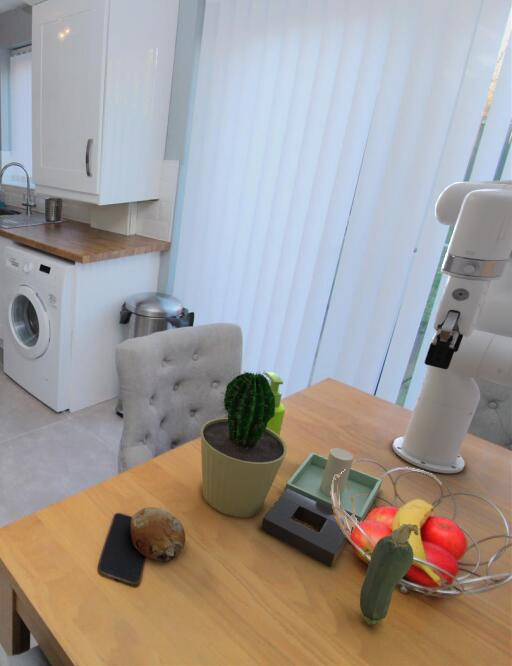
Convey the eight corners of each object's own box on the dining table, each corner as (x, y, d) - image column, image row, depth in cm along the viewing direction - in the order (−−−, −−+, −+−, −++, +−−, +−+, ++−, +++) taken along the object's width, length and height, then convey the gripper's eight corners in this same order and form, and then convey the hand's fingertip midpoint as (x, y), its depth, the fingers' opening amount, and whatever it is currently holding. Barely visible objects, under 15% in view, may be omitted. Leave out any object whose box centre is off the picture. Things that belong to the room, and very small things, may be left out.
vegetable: (346, 606, 77) (379, 509, 70) (371, 603, 78) (407, 506, 70) (368, 632, 73) (405, 532, 66) (395, 629, 74) (435, 529, 66)
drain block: (284, 499, 100) (287, 488, 98) (351, 531, 91) (355, 519, 90) (260, 529, 92) (263, 517, 91) (331, 567, 84) (334, 554, 83)
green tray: (308, 462, 110) (311, 451, 109) (378, 491, 101) (382, 479, 100) (283, 494, 101) (286, 483, 100) (357, 529, 92) (361, 517, 91)
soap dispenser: (266, 442, 117) (282, 370, 110) (279, 460, 111) (296, 385, 104) (241, 442, 118) (255, 369, 111) (252, 459, 112) (267, 384, 104)
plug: (323, 482, 103) (333, 445, 100) (345, 491, 101) (356, 454, 97) (317, 491, 101) (327, 453, 97) (339, 500, 98) (350, 462, 95)
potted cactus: (277, 489, 102) (306, 363, 91) (267, 537, 91) (299, 399, 79) (201, 464, 111) (220, 346, 99) (183, 505, 99) (202, 377, 88)
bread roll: (181, 549, 93) (185, 507, 93) (185, 571, 83) (189, 524, 84) (129, 537, 96) (133, 497, 96) (126, 557, 86) (131, 512, 87)
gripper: (498, 281, 73) (461, 381, 79) (509, 260, 83) (475, 349, 89) (433, 272, 78) (403, 366, 84) (452, 253, 88) (424, 338, 95)
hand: (441, 357), depth 87 cm, fingers open, 9 cm apart
